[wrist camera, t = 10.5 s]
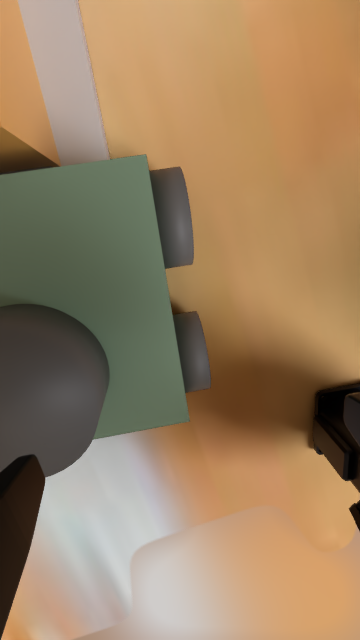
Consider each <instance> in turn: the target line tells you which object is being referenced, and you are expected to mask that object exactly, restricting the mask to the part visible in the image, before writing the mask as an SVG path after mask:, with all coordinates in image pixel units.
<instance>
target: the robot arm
mask: <svg viewBox="0 0 360 640" xmlns="http://www.w3.org/2000/svg"><path fill="white" fill-rule="evenodd" d="M322 396H324V397H323V398H321V397H322ZM313 441H314V450H315V451H316V453H317V454H319V455H322V454H324V456H325V457H326V458H327V460H328V461H329V462H330V463H331V465H332V466H333V467H334V469H335V470H336V471H337V473H338V474H339V475H340V477H341V478H342V479H343V480H345V481H351V482H352V484H353V485H354V486H355V487H356V489H357V490H358V491H359V492H360V383H359V384H354V385H348V386H343V387H337V388H332V389H327V390H321V391H319V392H317V394H316V396H315V416H314V418H313ZM44 486H45V475H44V472H43V470H42V468H41V465H40V463H39V461H38V458H37V456H36V455H34V454H29V455H24V456H20V457H18V458H16V459H15V460H14V461H13V462H12V463H10V464H9V465H8V466H7V467H6V468H5V469H3V470H2V471H1V472H0V640H1V637H2V634H3V631H4V628H5V625H6V622H7V619H8V616H9V613H10V609H11V606H12V603H13V600H14V597H15V594H16V591H17V588H18V585H19V582H20V579H21V575H22V572H23V569H24V566H25V563H26V560H27V557H28V553H29V550H30V547H31V543H32V539H33V535H34V530H35V526H36V521H37V517H38V513H39V508H40V504H41V499H42V495H43V491H44ZM349 510H350V512H351V514H352V516H353V518H354V520H355V523H356V525H357V527H358V529H359V531H360V500H359V501H358V502H357V503H354V504H353V505H352V506H351V507H350V508H349Z"/></svg>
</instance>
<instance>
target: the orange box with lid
mask: <svg viewBox="0 0 360 640" xmlns="http://www.w3.org/2000/svg"><path fill="white" fill-rule="evenodd" d="M46 166H52V167H60V166H61V163H60V160H59V156H58V152H57V148H56V144H55V141H54V137H53V133H52V129H51V125H50V122H49V118H48V114H47V110H46V107H45V103H44V99H43V95H42V91H41V88H40V84H39V80H38V76H37V72H36V69H35V65H34V61H33V57H32V53H31V50H30V46H29V42H28V38H27V34H26V31H25V27H24V23H23V19H22V15H21V12H20V8H19V4H18V0H0V173H4V172H11V171H18V170H25V169H32V168H39V167H46Z"/></svg>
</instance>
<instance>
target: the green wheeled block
mask: <svg viewBox="0 0 360 640" xmlns="http://www.w3.org/2000/svg"><path fill="white" fill-rule="evenodd" d="M18 4H19V8H20V12H21V15H22V19H23V23H24V27H25V31H26V34H27V38H28V42H29V46H30V50H31V53H32V57H33V61H34V65H35V69H36V72H37V76H38V80H39V84H40V88H41V91H42V95H43V99H44V103H45V107H46V110H47V114H48V118H49V122H50V125H51V129H52V133H53V137H54V141H55V144H56V148H57V152H58V156H59V160H60V163H61V166H60V167H52V166H46V167H39V168H32V169H25V170H18V171H11V172H4V173H0V472H1V471H2V470H3V469H5V468H6V467H7V466H8V465H9V464H10V463H12V462H13V461H14V460H15V459H16V458H18V457H20V456H24V455H29V454H34V455H36V456H37V458H38V461H39V463H40V465H41V468H42V470H43V472H44V475H45V477H48V476H51V475H54V474H56V473H58V472H60V471H62V470H64V469H65V468H67V467H69V466H70V465H72V464H73V463H74V462H75V461H76V460H78V459H79V458H80V457H81V456H82V454H83V453H84V452H85V451H86V450H87V448H88V447H89V445H90V444H91V442H92V440H93V439H98V438H104V437H109V436H114V435H120V434H125V433H130V432H136V431H141V430H146V429H152V428H157V427H163V426H168V425H173V424H179V423H184V422H189V421H190V419H189V413H188V407H187V401H186V395H185V393H187V392H192V391H198V390H203V389H209V388H210V387H211V376H210V366H209V359H208V353H207V348H206V343H205V338H204V333H203V329H202V325H201V322H200V319H199V316H198V313H197V312H196V311H194V312H188V313H182V314H176V315H172V309H171V303H170V297H169V291H168V285H167V279H166V272H165V269H167V268H173V267H179V266H185V265H192V263H193V258H194V245H193V230H192V220H191V212H190V205H189V199H188V193H187V188H186V183H185V179H184V175H183V172H182V170H181V168H180V167H173V168H166V169H160V170H153V171H149V168H148V162H147V156H146V154H145V155H138V156H131V157H124V158H117V159H110V156H109V151H108V146H107V141H106V136H105V131H104V126H103V122H102V117H101V112H100V107H99V102H98V97H97V92H96V87H95V82H94V77H93V72H92V67H91V63H90V58H89V53H88V48H87V43H86V38H85V33H84V28H83V23H82V18H81V13H80V9H79V4H78V0H18Z"/></svg>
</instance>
